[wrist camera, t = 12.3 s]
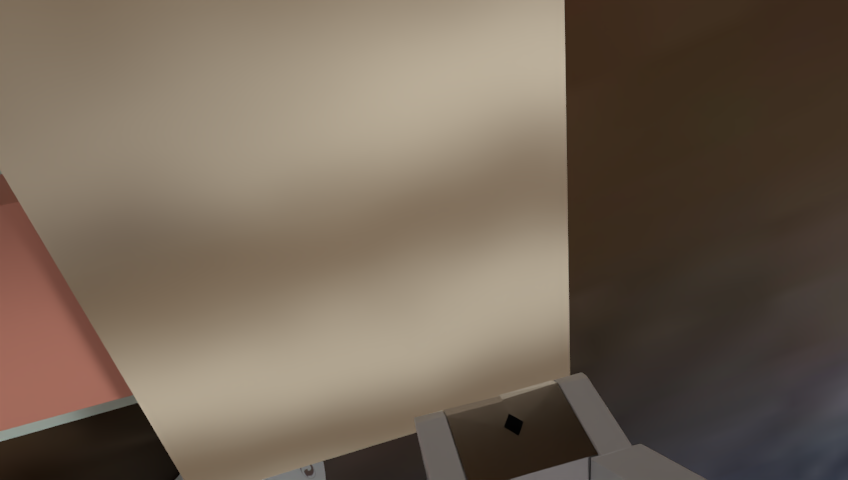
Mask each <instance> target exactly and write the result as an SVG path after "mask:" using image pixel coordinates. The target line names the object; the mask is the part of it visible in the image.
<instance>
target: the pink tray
mask: <svg viewBox="0 0 848 480" xmlns="http://www.w3.org/2000/svg"><path fill="white" fill-rule="evenodd" d="M131 395H133V393H132V392H131V390H130V388H129V387H128V385H127V383H126V382H125V380H124V378H123V377H122V375H121V373H120V372H119V370H118V368H117V366H116V365H115V363H114V361H113V360H112V358H111V356H110V355H109V353H108V351H107V350H106V348H105V346H104V345H103V343H102V341H101V339H100V338H99V336H98V334H97V333H96V331H95V329H94V328H93V326H92V324H91V323H90V321H89V319H88V318H87V316H86V314H85V312H84V311H83V309H82V307H81V306H80V304H79V302H78V301H77V299H76V297H75V296H74V294H73V292H72V291H71V289H70V287H69V285H68V284H67V282H66V280H65V279H64V277H63V275H62V274H61V272H60V270H59V269H58V267H57V265H56V264H55V262H54V260H53V258H52V257H51V255H50V253H49V252H48V250H47V248H46V247H45V245H44V243H43V242H42V240H41V238H40V237H39V235H38V233H37V231H36V230H35V228H34V226H33V225H32V223H31V221H30V220H29V218H28V216H27V215H26V213H25V211H24V210H23V208H22V206H21V204H20V203H19V201H18V199H17V198H16V196H15V194H14V193H13V191H12V189H11V188H10V186H9V184H8V183H7V181H6V179H5V177H4V176H3V174H0V431H3V430H7V429H11V428H14V427H18V426H22V425H25V424H29V423H33V422H36V421H40V420H44V419H47V418H51V417H55V416H58V415H62V414H66V413H69V412H73V411H77V410H80V409H84V408H88V407H91V406H95V405H98V404H102V403H106V402H109V401H113V400H117V399H120V398H124V397H128V396H131Z"/></svg>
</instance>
